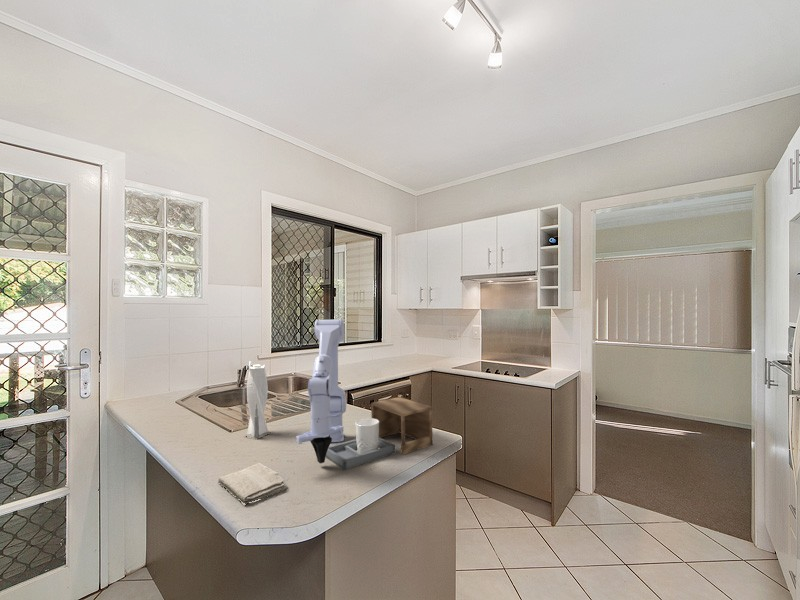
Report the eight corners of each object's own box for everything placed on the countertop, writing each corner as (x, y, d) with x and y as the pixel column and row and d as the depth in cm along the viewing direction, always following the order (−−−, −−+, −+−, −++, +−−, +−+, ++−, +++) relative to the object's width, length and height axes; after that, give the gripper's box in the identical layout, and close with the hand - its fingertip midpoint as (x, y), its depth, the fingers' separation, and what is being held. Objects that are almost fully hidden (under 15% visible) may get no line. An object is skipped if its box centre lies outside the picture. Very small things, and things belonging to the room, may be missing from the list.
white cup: (376, 458, 113) (375, 426, 113) (352, 456, 114) (351, 425, 114) (382, 448, 120) (381, 418, 121) (360, 446, 122) (359, 417, 122)
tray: (343, 470, 104) (343, 461, 105) (324, 456, 115) (324, 447, 115) (395, 453, 116) (395, 445, 116) (373, 441, 126) (373, 434, 126)
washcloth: (245, 509, 85) (245, 496, 86) (216, 485, 98) (215, 474, 98) (289, 490, 94) (289, 478, 94) (257, 470, 106) (257, 460, 106)
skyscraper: (240, 436, 134) (239, 362, 135) (257, 429, 141) (256, 359, 142) (256, 439, 130) (256, 363, 131) (273, 432, 138) (272, 360, 138)
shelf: (403, 454, 115) (402, 414, 115) (371, 438, 129) (371, 402, 130) (432, 444, 123) (431, 406, 123) (400, 430, 137) (399, 396, 138)
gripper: (302, 425, 100) (303, 473, 99) (348, 414, 109) (348, 459, 108) (293, 419, 105) (293, 465, 105) (337, 409, 114) (337, 452, 114)
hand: (321, 461), depth 107 cm, fingers closed
